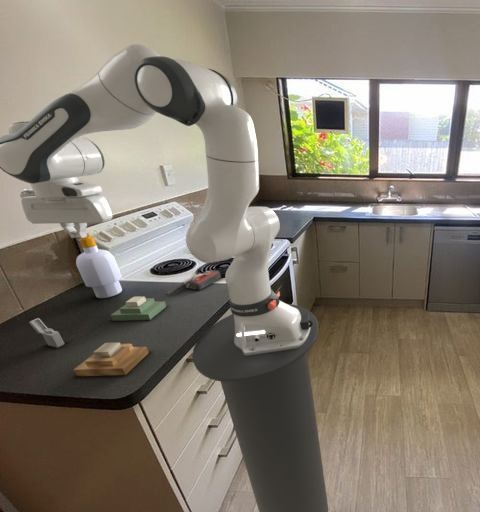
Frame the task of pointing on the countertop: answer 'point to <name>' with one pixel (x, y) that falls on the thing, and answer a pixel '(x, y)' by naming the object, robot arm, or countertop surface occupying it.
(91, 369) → the key block
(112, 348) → the near key
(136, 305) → the far key
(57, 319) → the countertop surface
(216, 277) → the walkie-talkie
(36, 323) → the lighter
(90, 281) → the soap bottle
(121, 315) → the key block
